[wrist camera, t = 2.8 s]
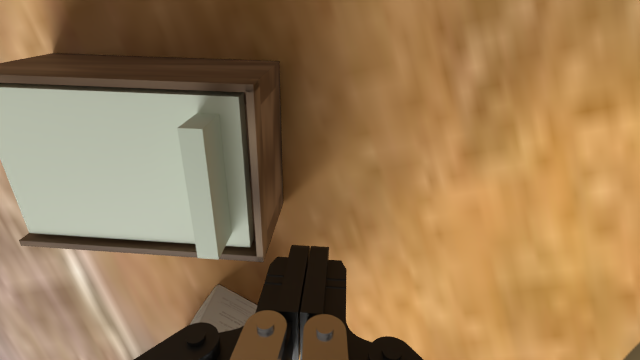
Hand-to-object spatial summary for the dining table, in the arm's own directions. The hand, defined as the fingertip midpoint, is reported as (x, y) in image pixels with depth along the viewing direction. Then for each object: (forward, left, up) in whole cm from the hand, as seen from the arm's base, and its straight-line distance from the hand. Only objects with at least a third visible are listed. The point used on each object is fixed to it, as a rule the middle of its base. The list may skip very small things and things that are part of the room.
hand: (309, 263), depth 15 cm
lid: (0, -12, -8) cm, 14 cm away
